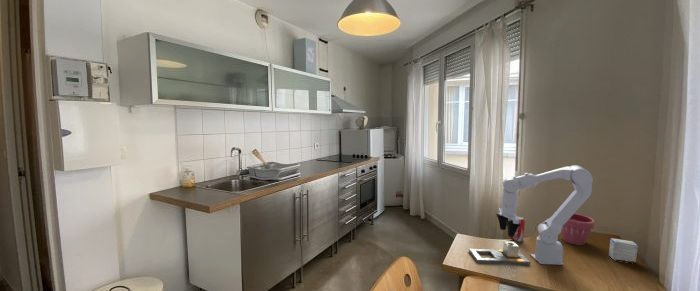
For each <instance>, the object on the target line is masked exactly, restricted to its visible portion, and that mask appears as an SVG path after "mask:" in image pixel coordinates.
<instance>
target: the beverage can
mask: <svg viewBox="0 0 700 291" xmlns="http://www.w3.org/2000/svg"><path fill="white" fill-rule="evenodd" d="M516 216H517V218H518V219H519V223H521V224H520V226H519V227H518V228H517V230H516V232H515V235H514V237H509V236H508V238H509V239H510V240H512V241H513V240H514V241H513V242H515V243H516V242H517V243H519V242H523V241H524V237H525V236H524V234H525V224H526V222H525V221H526V220H525V219H524V217H522V216H520V215H516Z"/></svg>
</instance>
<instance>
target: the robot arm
mask: <svg viewBox="0 0 700 291" xmlns="http://www.w3.org/2000/svg"><path fill="white" fill-rule="evenodd" d="M556 179H562V180H566V181H571V183H572V185H573V189H574V190H573V191H572V192H571V193H570V195H569V196H568V197H567V198H566V199H565V200H564V202H563V203H562V204H561V205H560V206H559V207H558V209H557V210H556V211H555V212H554V213H553V214H552V215H551V217H549V218H546V219H545V221H543V222H541V223H539V224H538V225H537V226H536V231H537V233H538V236H537V237H536V240H535V251H534V252H535V253H530V256H531V257H532V258H533V259H534V260H536V261H537V262H538V263H539V264H541V265H557V266H558V265H559V266H564V263H563V255H564V247H563V245H562V243H561V242H560V241H559V240H558V239H559V238H558V237H559V235H560V234H562V232H561V229H562V226H563V225H564V224H565V223H566V222H567V221H568V220H569V219H570V217H571V216H572V215H573V214H574V213H575V214H576V212H577V211H578V210H579V209H580V207H581V206H582V205H584V203H585V202H586V201H587V200H588V198H589V197H590V196H591V195H592V192H593V181H594V178H593V176H592V174H591V172H590V171H589V170H587V169H586V168H584V167H582V166H581V165H576V164H573V165H570V166H563V167H560V168H556V169H553V170H550V171H545V172H542V173H540V174H533V173H528V172H525V173H524V174H523V175H520V176H512V177H507V178H505V179H504V180H503V182H502V186H503V190H502V192H503V193H502V197H501V198H502V200H501V208H500V207H499V208H498V213H496V217H497V220H498V224H499V229H500V231H501V230H502V231H504V230H505V231H506V229H507V236H508V238H509V237H514V235H515V232H516V230H517V228H518V227H519V226H520V224H521V223H519V219H518V218H517V216H518V215H517V214H516V213H517V203H518V202H517V200H518V199H517V198H518V195H517V193H518V191H519V190H524V189H528V188H534V187H537V185H538V184H539V183H543V182H548V181H552V180H556Z"/></svg>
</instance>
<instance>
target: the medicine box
mask: <svg viewBox="0 0 700 291" xmlns="http://www.w3.org/2000/svg"><path fill="white" fill-rule="evenodd" d="M609 239H610V241H609V249H608V250H609V251H608V257H609V256H610V257H611V258H612V259H614V260H613V261H616V260H625V261H634V262H637V255H638V249H639V245H637V243H635V242H634V241H632V240H625V239H619V238H612V237H611V238H609ZM610 257H609V258H610ZM611 258H610V259H611ZM612 259H611V260H612Z"/></svg>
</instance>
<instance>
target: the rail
mask: <svg viewBox="0 0 700 291" xmlns="http://www.w3.org/2000/svg"><path fill="white" fill-rule="evenodd" d="M468 253H469V254H470V255H471V256H472V258H473V259H474V260H475V262H476V264H493V265H494V264H495V265H514V266H516V265H517V266H519V265H520V266H530V265H531V261H530V260H529V259H528V258H526V256H525V255H523V254H522V253H521V252H520V251H519V250H518V259H507V258H506V257H505V256H504V255H503V249H489V248H485V249H484V248H469V249H468ZM480 255H490V256H491V257H482V256H480Z"/></svg>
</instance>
